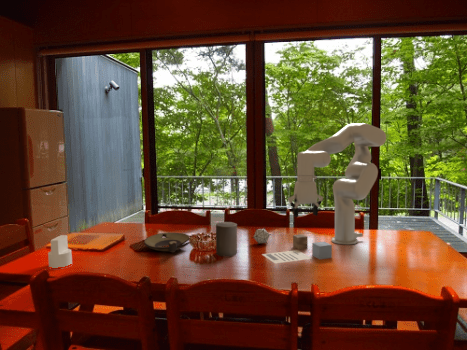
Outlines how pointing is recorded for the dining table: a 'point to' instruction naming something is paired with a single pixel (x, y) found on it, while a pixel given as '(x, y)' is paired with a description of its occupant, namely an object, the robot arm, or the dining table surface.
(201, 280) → the dining table surface
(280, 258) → the letter
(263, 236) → the game die
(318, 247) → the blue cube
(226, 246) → the pillar candle
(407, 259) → the dining table surface
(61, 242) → the base with upright slab
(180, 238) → the oil lamp
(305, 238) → the walnut block
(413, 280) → the dining table surface
